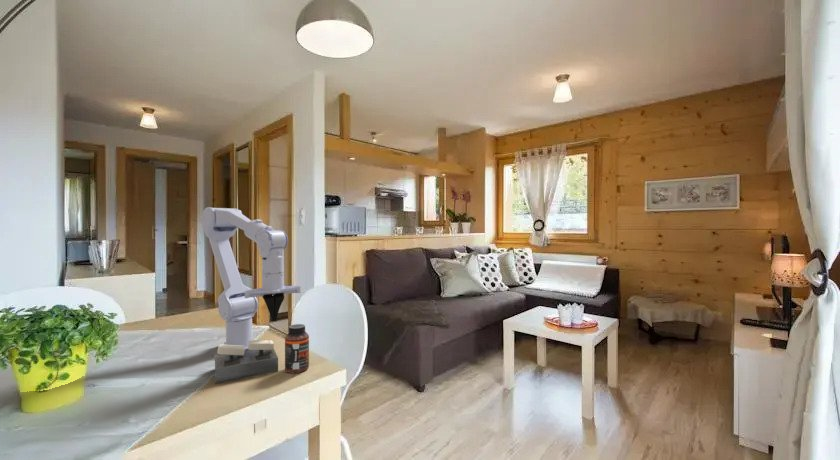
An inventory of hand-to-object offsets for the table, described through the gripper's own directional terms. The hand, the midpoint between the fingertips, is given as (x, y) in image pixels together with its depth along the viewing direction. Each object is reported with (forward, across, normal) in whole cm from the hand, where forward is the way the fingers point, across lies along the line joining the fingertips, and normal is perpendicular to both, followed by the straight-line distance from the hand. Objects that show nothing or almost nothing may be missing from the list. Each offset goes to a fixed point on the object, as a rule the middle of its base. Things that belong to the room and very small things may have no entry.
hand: (273, 320), depth 100 cm
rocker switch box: (+10, -8, -6) cm, 14 cm away
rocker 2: (+5, -4, -4) cm, 8 cm away
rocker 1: (+5, -11, -4) cm, 13 cm away
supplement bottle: (+11, +4, -12) cm, 17 cm away
